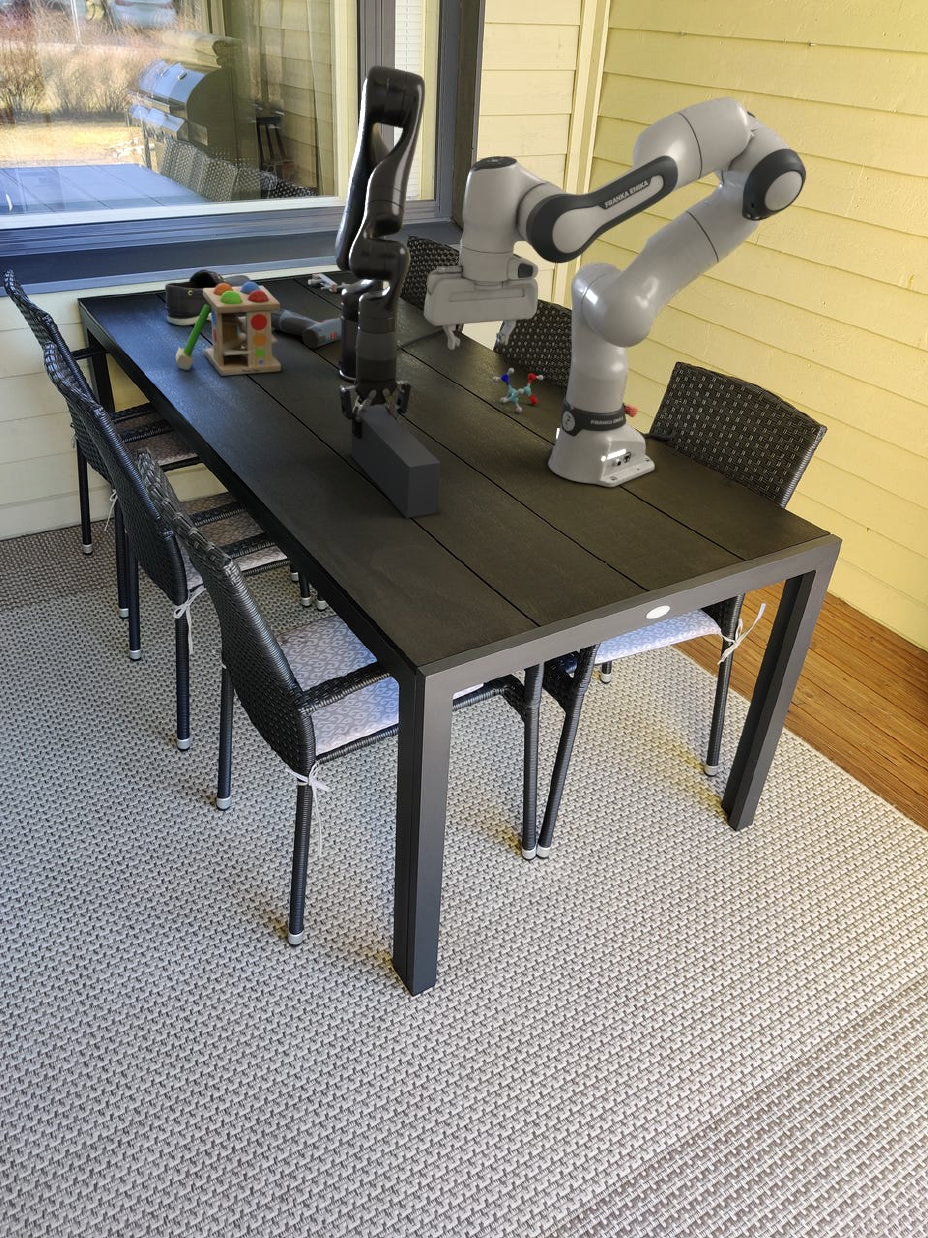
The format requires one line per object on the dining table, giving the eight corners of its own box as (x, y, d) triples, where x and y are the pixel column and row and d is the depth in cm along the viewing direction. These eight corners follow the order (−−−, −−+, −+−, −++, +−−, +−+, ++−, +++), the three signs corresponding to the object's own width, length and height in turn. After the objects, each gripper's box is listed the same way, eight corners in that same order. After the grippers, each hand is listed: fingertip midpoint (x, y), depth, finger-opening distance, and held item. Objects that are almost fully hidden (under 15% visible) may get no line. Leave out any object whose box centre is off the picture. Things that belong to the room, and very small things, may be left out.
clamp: (303, 274, 289) (334, 272, 294) (303, 281, 290) (334, 279, 295) (323, 288, 279) (355, 286, 283) (323, 296, 280) (355, 294, 285)
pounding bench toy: (183, 379, 220) (176, 299, 210) (169, 357, 231) (162, 280, 221) (282, 371, 230) (280, 294, 220) (264, 350, 240) (262, 276, 230)
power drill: (305, 316, 264) (364, 334, 256) (257, 332, 251) (318, 351, 243) (305, 296, 261) (365, 314, 253) (257, 311, 248) (318, 330, 240)
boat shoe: (273, 303, 272) (271, 265, 267) (185, 327, 248) (181, 285, 243) (238, 295, 278) (236, 257, 272) (149, 317, 254) (144, 276, 249)
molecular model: (539, 404, 216) (525, 360, 215) (500, 418, 220) (486, 375, 218) (551, 402, 227) (538, 360, 225) (514, 416, 230) (501, 374, 229)
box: (351, 455, 196) (352, 407, 190) (379, 452, 198) (380, 404, 192) (406, 518, 176) (409, 466, 170) (436, 513, 179) (440, 462, 173)
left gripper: (347, 361, 176) (346, 448, 185) (420, 355, 182) (415, 439, 191) (332, 347, 181) (332, 432, 191) (404, 341, 187) (399, 424, 196)
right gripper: (436, 272, 155) (431, 357, 163) (547, 266, 164) (536, 347, 172) (420, 261, 160) (415, 344, 168) (528, 256, 168) (519, 335, 176)
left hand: (373, 435), depth 191 cm, fingers closed on box, 6 cm apart
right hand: (477, 346), depth 170 cm, fingers open, 8 cm apart
